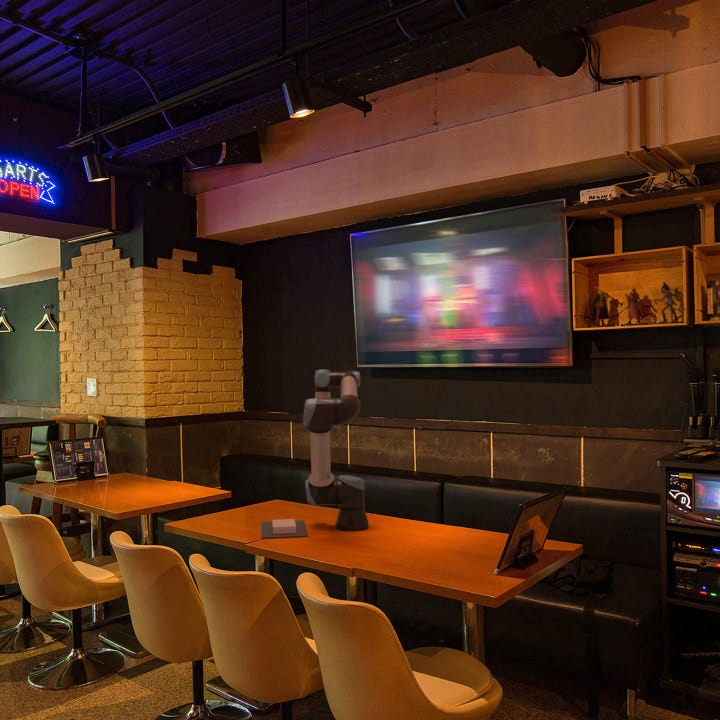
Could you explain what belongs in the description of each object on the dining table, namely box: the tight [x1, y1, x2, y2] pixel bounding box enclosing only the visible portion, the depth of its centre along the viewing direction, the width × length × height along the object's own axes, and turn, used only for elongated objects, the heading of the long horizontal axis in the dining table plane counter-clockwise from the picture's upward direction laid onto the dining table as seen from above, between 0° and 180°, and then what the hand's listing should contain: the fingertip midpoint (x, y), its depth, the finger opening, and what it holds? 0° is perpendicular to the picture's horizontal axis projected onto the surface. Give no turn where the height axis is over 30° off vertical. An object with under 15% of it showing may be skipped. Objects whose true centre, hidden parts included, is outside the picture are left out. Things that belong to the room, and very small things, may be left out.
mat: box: [260, 519, 309, 540], centre depth 307 cm, size 30×20×1 cm, turn 8°
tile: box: [272, 518, 296, 535], centre depth 302 cm, size 3×10×15 cm
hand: (323, 448), depth 336 cm, fingers closed
